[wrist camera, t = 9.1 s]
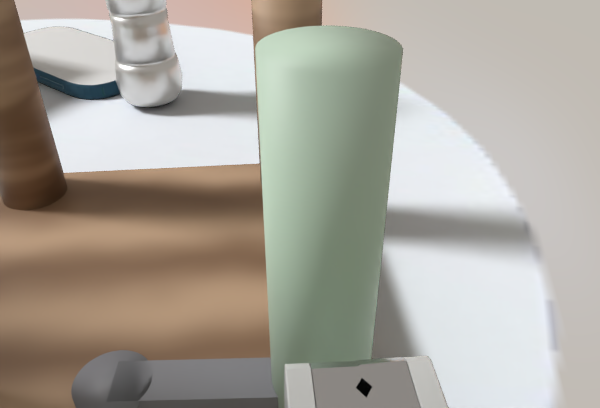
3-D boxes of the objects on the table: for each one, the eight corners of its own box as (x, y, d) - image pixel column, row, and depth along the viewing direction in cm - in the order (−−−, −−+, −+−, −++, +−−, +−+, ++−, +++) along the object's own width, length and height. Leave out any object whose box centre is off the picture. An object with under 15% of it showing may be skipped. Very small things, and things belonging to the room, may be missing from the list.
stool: (382, 473, 24) (435, 107, 14) (-159, 522, 22) (-512, 146, 12) (320, 195, 42) (325, -48, 32) (22, 210, 40) (-66, -40, 31)
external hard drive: (178, 76, 63) (175, 59, 62) (91, 109, 56) (87, 91, 55) (63, 38, 76) (60, 23, 75) (-20, 60, 68) (-26, 45, 67)
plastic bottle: (194, 91, 59) (168, -127, 47) (170, 117, 53) (134, -122, 42) (138, 86, 60) (100, -128, 49) (108, 112, 54) (57, -123, 43)
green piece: (61, 438, 21) (-90, 79, 13) (91, 356, 24) (-14, 29, 16) (373, 429, 21) (416, 72, 13) (361, 349, 25) (389, 24, 17)
